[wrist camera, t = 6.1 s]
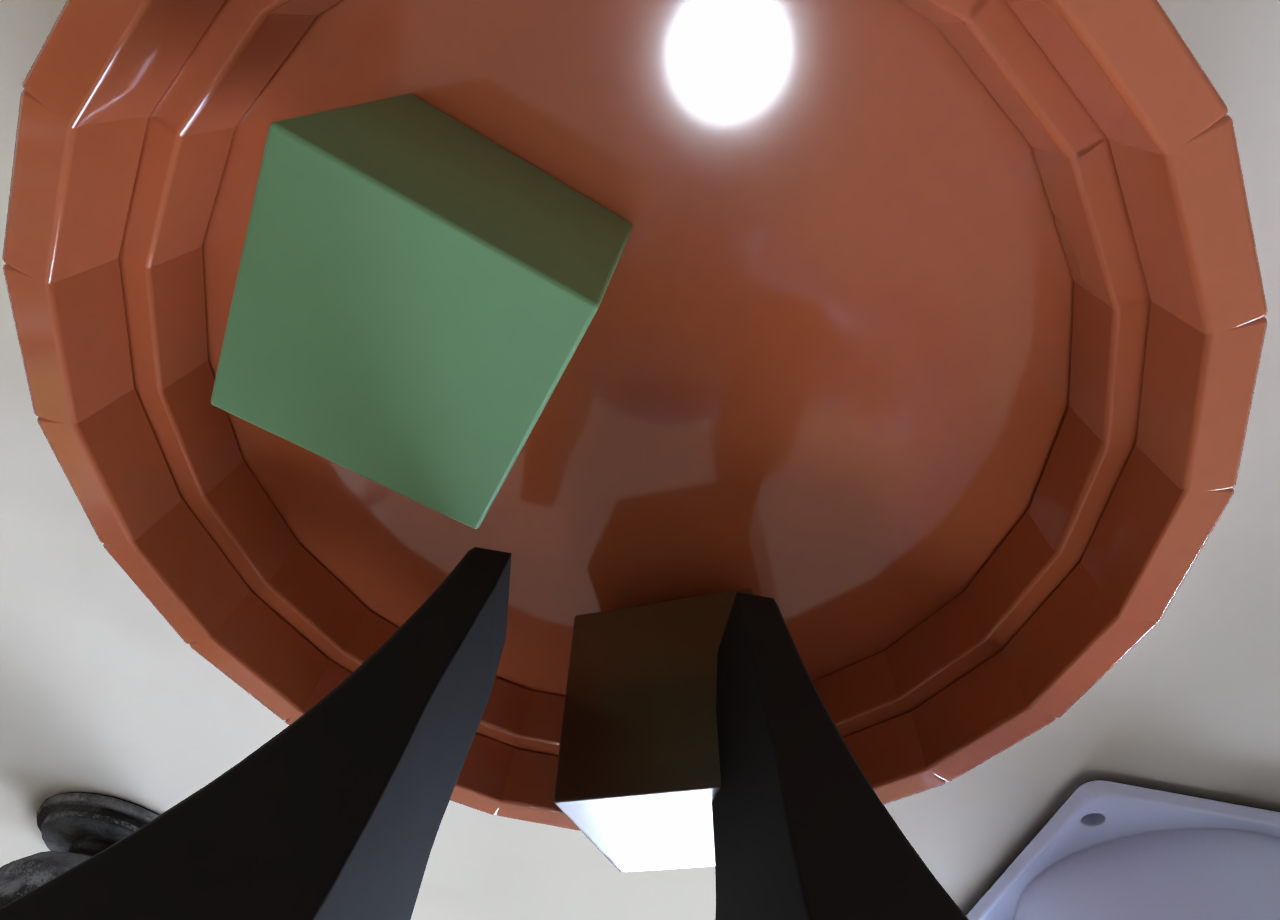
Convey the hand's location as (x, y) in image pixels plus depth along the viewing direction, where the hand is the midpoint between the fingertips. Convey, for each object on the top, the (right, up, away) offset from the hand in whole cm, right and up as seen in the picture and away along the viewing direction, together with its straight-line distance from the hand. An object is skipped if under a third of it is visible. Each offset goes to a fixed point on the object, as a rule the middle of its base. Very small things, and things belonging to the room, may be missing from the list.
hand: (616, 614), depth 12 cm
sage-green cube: (-2, +6, -1) cm, 6 cm away
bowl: (0, +3, +1) cm, 3 cm away
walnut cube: (+1, -1, +2) cm, 3 cm away
